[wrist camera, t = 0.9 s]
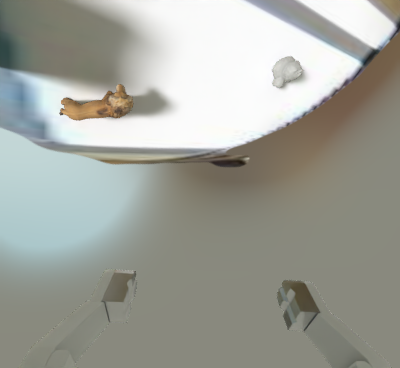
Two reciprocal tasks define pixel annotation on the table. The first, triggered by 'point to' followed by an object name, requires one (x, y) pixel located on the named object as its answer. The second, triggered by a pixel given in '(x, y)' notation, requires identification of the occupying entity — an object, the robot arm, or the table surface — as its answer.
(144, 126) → the table surface
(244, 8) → the table surface
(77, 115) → the lion figurine
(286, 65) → the white rounded figure
